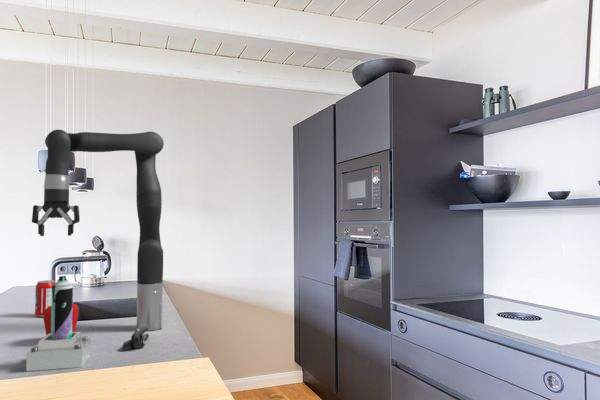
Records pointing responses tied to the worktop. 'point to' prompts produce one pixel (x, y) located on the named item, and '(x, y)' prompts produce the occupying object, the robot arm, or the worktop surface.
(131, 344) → the can opener
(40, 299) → the soda can
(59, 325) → the spray can
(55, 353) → the grey square holder
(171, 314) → the worktop surface
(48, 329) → the apple
